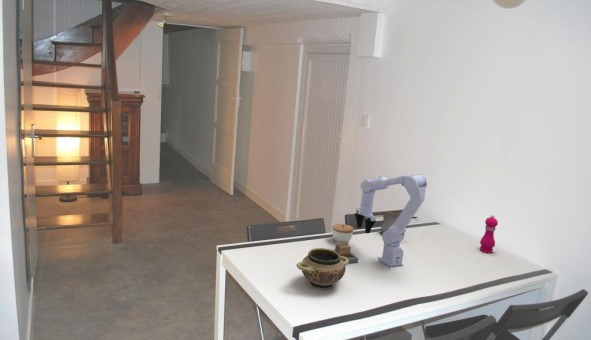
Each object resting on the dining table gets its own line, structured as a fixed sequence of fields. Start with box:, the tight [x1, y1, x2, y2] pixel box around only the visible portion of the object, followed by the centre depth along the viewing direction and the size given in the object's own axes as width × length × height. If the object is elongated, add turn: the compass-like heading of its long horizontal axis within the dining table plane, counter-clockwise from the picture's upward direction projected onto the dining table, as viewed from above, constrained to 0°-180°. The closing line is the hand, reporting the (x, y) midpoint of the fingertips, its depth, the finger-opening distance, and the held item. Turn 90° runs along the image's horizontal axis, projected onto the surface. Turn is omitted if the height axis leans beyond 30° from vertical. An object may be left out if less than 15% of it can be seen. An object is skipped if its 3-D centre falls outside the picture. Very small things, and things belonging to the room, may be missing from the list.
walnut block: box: [334, 242, 351, 258], centre depth 211 cm, size 5×5×6 cm
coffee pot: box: [380, 210, 419, 234], centre depth 247 cm, size 21×12×15 cm, turn 39°
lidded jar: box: [331, 223, 355, 244], centre depth 233 cm, size 11×11×9 cm
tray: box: [332, 249, 359, 265], centre depth 212 cm, size 11×11×2 cm
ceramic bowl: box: [296, 247, 349, 290], centre depth 183 cm, size 24×18×15 cm
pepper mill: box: [479, 214, 498, 254], centre depth 238 cm, size 7×7×20 cm
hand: (363, 230), depth 224 cm, fingers open, 7 cm apart
